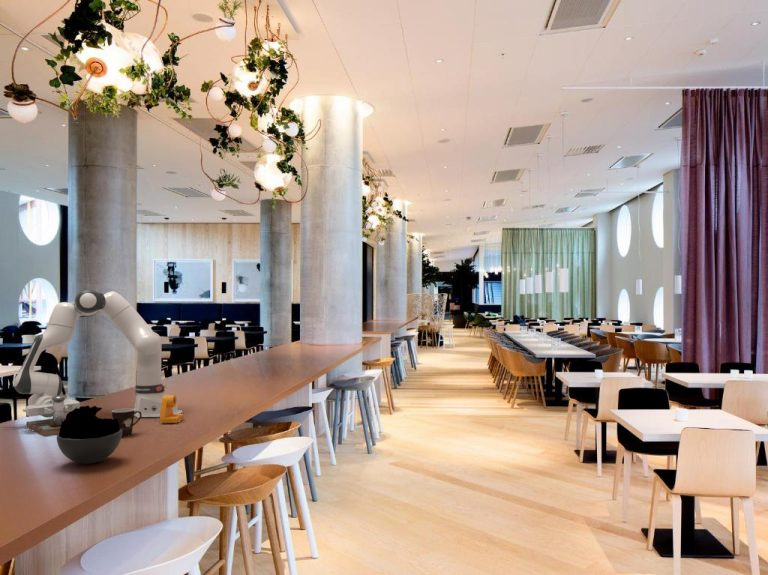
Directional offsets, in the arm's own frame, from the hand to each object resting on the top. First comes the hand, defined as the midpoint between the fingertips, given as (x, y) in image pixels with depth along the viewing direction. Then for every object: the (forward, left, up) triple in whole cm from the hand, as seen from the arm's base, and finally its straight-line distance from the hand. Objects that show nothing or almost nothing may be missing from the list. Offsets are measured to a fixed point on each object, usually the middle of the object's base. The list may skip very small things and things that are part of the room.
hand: (59, 410), depth 258 cm
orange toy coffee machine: (-36, -26, -9) cm, 46 cm away
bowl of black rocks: (-43, +42, -9) cm, 61 cm away
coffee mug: (-31, +1, -9) cm, 32 cm away
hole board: (+6, -4, -9) cm, 11 cm away
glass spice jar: (+1, -1, -5) cm, 6 cm away
